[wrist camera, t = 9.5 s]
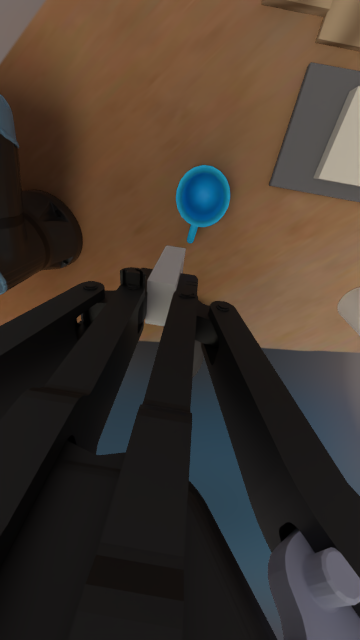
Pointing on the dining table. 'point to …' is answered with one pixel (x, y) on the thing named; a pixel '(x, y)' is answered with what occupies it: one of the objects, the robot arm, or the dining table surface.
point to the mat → (315, 132)
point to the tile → (343, 146)
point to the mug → (202, 197)
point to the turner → (329, 19)
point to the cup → (351, 308)
